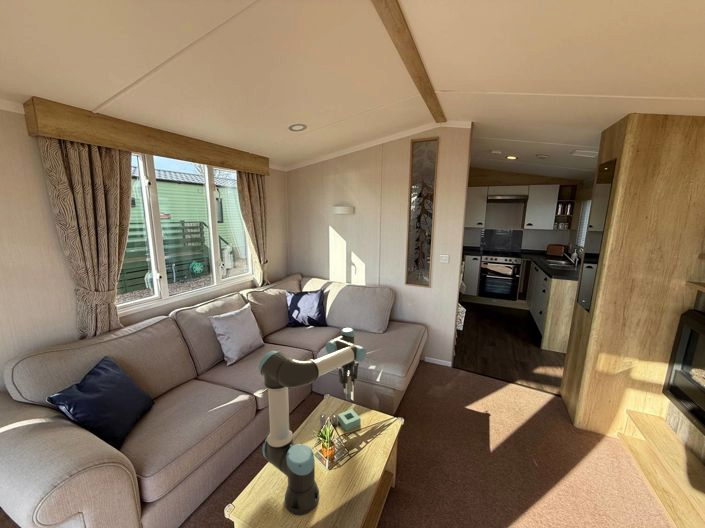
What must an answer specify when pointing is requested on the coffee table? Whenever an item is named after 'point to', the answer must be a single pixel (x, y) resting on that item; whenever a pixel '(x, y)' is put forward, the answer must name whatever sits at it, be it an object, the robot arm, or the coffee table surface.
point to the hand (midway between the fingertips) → (348, 391)
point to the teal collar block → (349, 419)
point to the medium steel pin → (322, 421)
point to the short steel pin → (334, 419)
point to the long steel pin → (348, 387)
